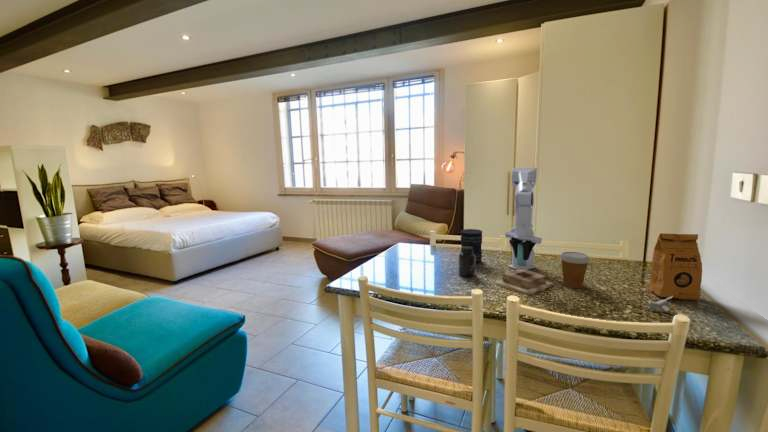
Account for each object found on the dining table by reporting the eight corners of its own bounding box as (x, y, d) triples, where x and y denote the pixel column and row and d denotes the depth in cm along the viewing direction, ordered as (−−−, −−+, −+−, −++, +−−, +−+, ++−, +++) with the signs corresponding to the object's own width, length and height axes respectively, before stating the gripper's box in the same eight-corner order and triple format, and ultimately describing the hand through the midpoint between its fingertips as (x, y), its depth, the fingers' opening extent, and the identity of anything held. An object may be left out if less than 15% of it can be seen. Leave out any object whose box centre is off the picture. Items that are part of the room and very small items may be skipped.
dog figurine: (652, 315, 108) (640, 301, 108) (677, 302, 105) (665, 287, 106) (657, 319, 105) (645, 305, 105) (683, 306, 102) (671, 291, 103)
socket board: (521, 275, 140) (521, 266, 140) (553, 285, 129) (554, 275, 128) (495, 283, 132) (495, 274, 131) (527, 295, 120) (527, 284, 120)
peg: (520, 263, 133) (520, 243, 131) (527, 265, 130) (528, 244, 129) (515, 264, 131) (515, 244, 130) (522, 266, 128) (523, 246, 127)
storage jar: (484, 264, 156) (485, 233, 154) (462, 265, 156) (463, 233, 154) (478, 258, 166) (479, 228, 164) (458, 259, 166) (458, 229, 164)
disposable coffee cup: (576, 292, 122) (579, 259, 120) (553, 283, 130) (554, 253, 129) (593, 286, 126) (595, 255, 124) (569, 279, 135) (570, 250, 133)
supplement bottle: (475, 277, 139) (476, 249, 137) (458, 277, 141) (458, 249, 139) (474, 272, 146) (474, 245, 144) (458, 272, 147) (458, 245, 145)
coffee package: (703, 304, 110) (712, 237, 106) (657, 299, 114) (664, 235, 110) (688, 292, 119) (695, 231, 115) (645, 289, 123) (651, 229, 119)
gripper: (500, 222, 132) (499, 256, 134) (533, 227, 120) (532, 264, 122) (512, 220, 136) (511, 253, 138) (545, 225, 123) (544, 261, 126)
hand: (521, 258), depth 130 cm, fingers closed on peg, 3 cm apart
